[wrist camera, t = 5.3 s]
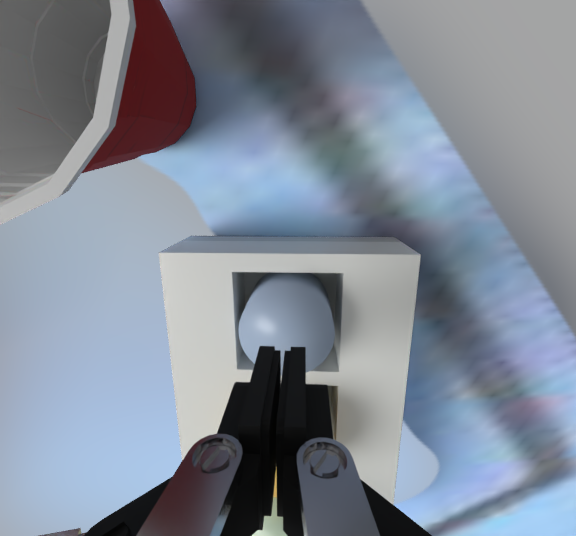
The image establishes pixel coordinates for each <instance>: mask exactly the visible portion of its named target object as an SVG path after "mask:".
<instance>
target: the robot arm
mask: <svg viewBox="0 0 576 536" xmlns="http://www.w3.org/2000/svg"><path fill="white" fill-rule="evenodd" d="M276 473H277V517H283V531H284V532H285V533H286V534H287V536H432V535H430V534H429V533H428V532H427V531H425V530H424V529H423V528H422V527H420V526H419V525H418V524H416V523H415V522H414V521H413V520H411V519H410V518H409V517H408V516H406V515H405V514H404V513H403V512H401V511H400V510H399V509H398V508H396V507H395V506H394V505H393V504H391V503H390V502H389V501H388V500H386V499H385V498H384V497H383V496H381V495H380V494H379V493H378V492H376V491H375V490H374V489H372V488H371V487H370V486H369V485H367V484H366V483H365V482H364V481H362V480H361V479H360V477H359V474H358V471H357V469H356V466H355V463H354V460H353V457H352V455H351V453H350V452H349V450H348V449H347V448H346V447H345V446H344V445H343V444H341V443H340V442H338V441H336V440H333V431H332V422H331V412H330V403H329V394H328V386H327V385H324V384H306V347H291V351H285V354H284V362H283V371H282V379H281V352H280V350H275V346H260V347H259V350H258V354H257V357H256V361H255V365H254V369H253V372H252V376H251V380H250V382H235V383H234V385H233V388H232V391H231V394H230V397H229V400H228V403H227V406H226V409H225V411H224V414H223V417H222V420H221V423H220V426H219V429H218V432H217V434H213V435H209V436H206V437H204V438H202V439H200V440H199V441H197V442H196V443H195V444H194V445H193V446H192V447H191V448H190V450H189V451H188V453H187V454H186V456H185V457H184V459H183V461H182V462H181V464H180V466H179V467H178V469H177V470H176V472H175V474H174V475H173V477H171V478H170V479H168V480H166V481H165V482H163V483H161V484H160V485H158V486H157V487H155V488H153V489H152V490H150V491H148V492H147V493H145V494H144V495H142V496H140V497H139V498H137V499H135V500H134V501H132V502H130V503H129V504H127V505H125V506H124V507H122V508H121V509H119V510H117V511H116V512H114V513H112V514H111V515H109V516H107V517H106V518H104V519H102V520H101V521H100V522H98V523H97V524H96V525H94V526H93V527H92V528H91V529H90V530H89V531H88V532H87V533H82V534H81V529H80V528H78V529H74V530H68V531H62V532H57V533H51V534H45V535H40V536H252V535H253V534H254V533H255V532H256V531H257V530H263V523H264V516H271V514H272V505H273V495H274V485H275V475H276Z"/></svg>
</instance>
